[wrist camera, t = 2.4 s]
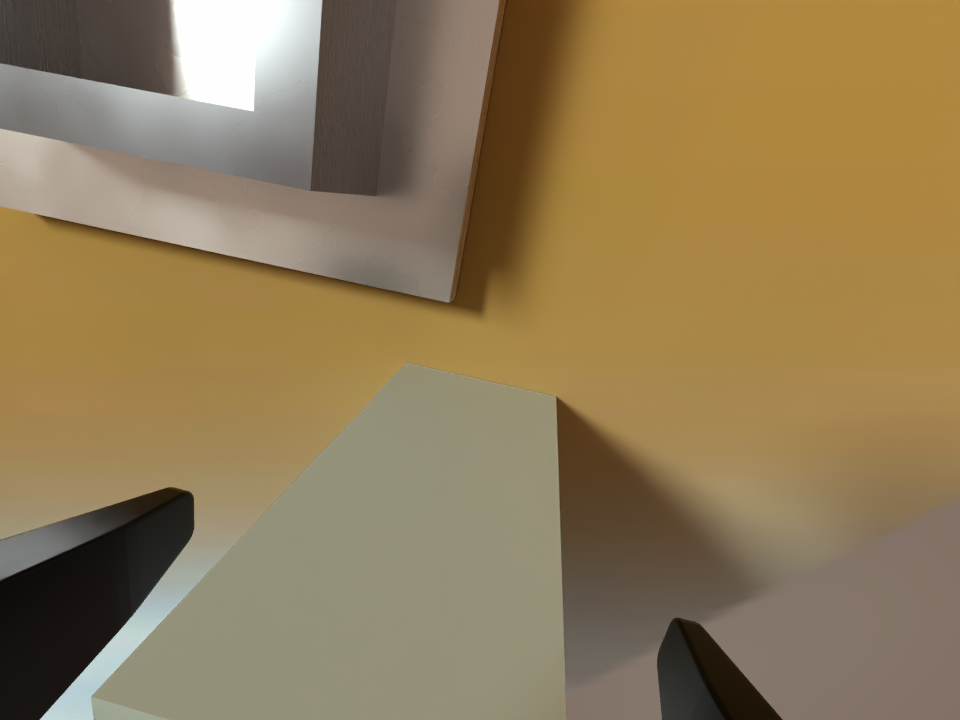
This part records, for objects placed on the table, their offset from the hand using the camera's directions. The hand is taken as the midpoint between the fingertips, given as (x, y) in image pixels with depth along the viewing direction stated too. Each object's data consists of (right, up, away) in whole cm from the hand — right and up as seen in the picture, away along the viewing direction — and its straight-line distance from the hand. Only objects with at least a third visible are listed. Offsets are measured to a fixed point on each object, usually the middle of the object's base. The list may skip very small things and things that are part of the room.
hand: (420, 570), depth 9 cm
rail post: (+1, +2, +4) cm, 5 cm away
